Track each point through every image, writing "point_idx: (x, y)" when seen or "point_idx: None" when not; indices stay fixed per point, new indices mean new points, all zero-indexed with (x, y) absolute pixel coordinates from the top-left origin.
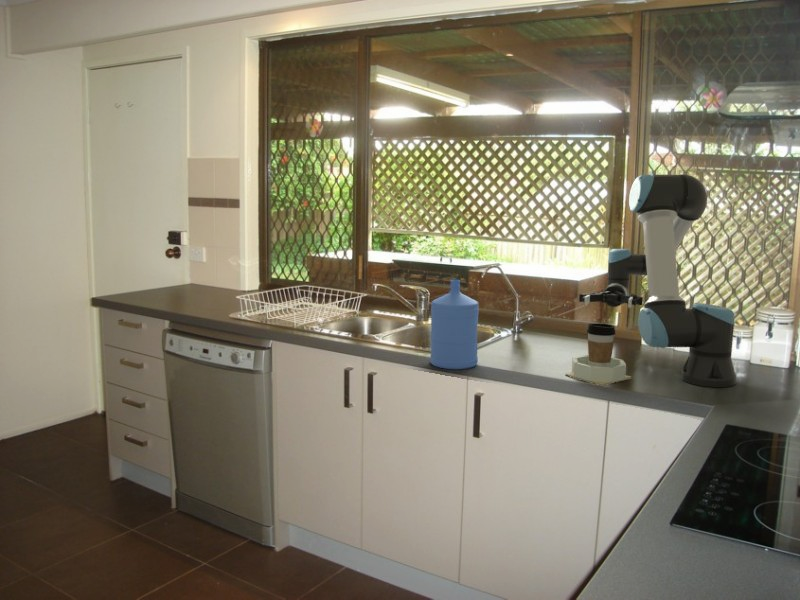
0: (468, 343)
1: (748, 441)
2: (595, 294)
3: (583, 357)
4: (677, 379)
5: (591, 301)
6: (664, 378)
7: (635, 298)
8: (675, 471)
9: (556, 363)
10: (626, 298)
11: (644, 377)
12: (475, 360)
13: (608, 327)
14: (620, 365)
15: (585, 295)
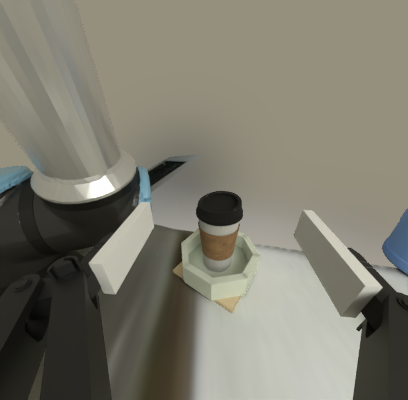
0: (400, 222)
1: None
2: (403, 393)
3: (246, 266)
4: (100, 289)
5: (360, 354)
6: (119, 288)
7: (75, 268)
8: (178, 171)
9: (316, 336)
10: (95, 348)
11: (150, 284)
12: (392, 254)
13: (207, 195)
14: (189, 239)
15: (399, 294)
